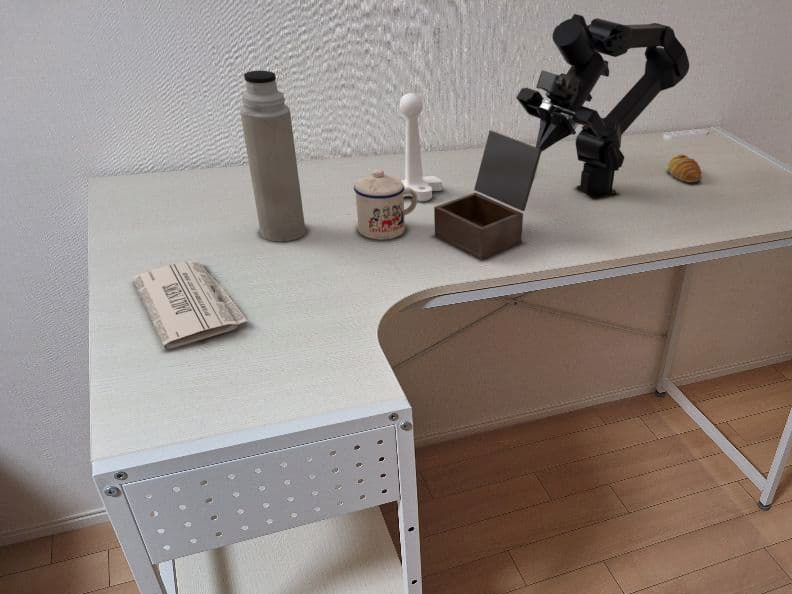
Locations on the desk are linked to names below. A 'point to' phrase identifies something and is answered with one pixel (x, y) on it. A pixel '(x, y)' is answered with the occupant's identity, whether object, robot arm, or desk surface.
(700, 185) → the desk surface
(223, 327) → the newspaper
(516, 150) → the dark grey flat tile
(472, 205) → the wooden box
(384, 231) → the teacup with lid
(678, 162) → the pastry
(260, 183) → the thermos bottle
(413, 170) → the joystick
